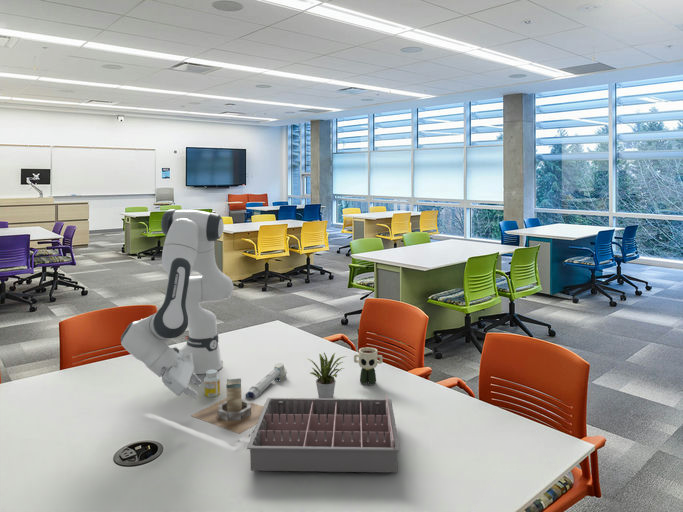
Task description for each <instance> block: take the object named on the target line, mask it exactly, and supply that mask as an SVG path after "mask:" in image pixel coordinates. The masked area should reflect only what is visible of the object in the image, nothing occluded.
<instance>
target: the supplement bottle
mask: <svg viewBox="0 0 683 512" xmlns="http://www.w3.org/2000/svg"><path fill="white" fill-rule="evenodd" d="M203 380H204V381H203V382H204V385H203V386H204V397H206V398H207V397H208V398H214V397H217V396H219V395H220V394H221V384H220V376H219V375H218V370H214V369H212V370H208V371H206V374H205V377H204V379H203Z"/></svg>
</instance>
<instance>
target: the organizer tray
mask: <svg viewBox="0 0 683 512" xmlns="http://www.w3.org/2000/svg"><path fill="white" fill-rule="evenodd" d="M396 425H397V424H396V420H395V414H394V408H393V402H392V399H391V398H388V394H385V398H319V397H317V398H316V397H314V398H313V397H312V398H311V397H309V398H307V397H267V398H266V401H265V404H264V408H263V410H262V413H261V415H260V418H259V420H258V422H257V424H256V425H255V427H254V430H253V433H252V434H251V437H250V440H249V443H248V445H247V447H246V450H249V451H250V452H249V453H250V455H249V457H250V460H249V461H250V471H269V472H271V471H273V472H274V471H279V472H280V471H282V472H284V471H286V472H288V471H289V472H343V473H344V472H348V473H349V472H351V473H354V472H356V473H360V472H361V473H397V463H398V462H397V454H398V453H397V452H400V444H399V443H400V442H399V438H398V432H397V426H396Z"/></svg>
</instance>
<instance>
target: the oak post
mask: <svg viewBox="0 0 683 512" xmlns="http://www.w3.org/2000/svg"><path fill="white" fill-rule="evenodd" d="M225 386H226V398H227V412H236V411H241V410H242V399H243V398H242V378H230V379H229V378H227V379H226V384H225Z"/></svg>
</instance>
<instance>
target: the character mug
mask: <svg viewBox="0 0 683 512" xmlns="http://www.w3.org/2000/svg"><path fill="white" fill-rule="evenodd" d="M357 358H358V360H357ZM378 359H379V360H378ZM353 362H354V363H357V364H359V365H358V366H359V367H360V368H361V369H360V375H359V381H360V383H361V384H363V385H367V383H368V385H374V384H376V382H377V374H376V370H375V368H376V367H378V364H380V365H381V364H383V355H382V354H378V349H377V348H374V347H368V346H367V347H361V348H359V350H358V353H356V354H355V353H354V354H353Z"/></svg>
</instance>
